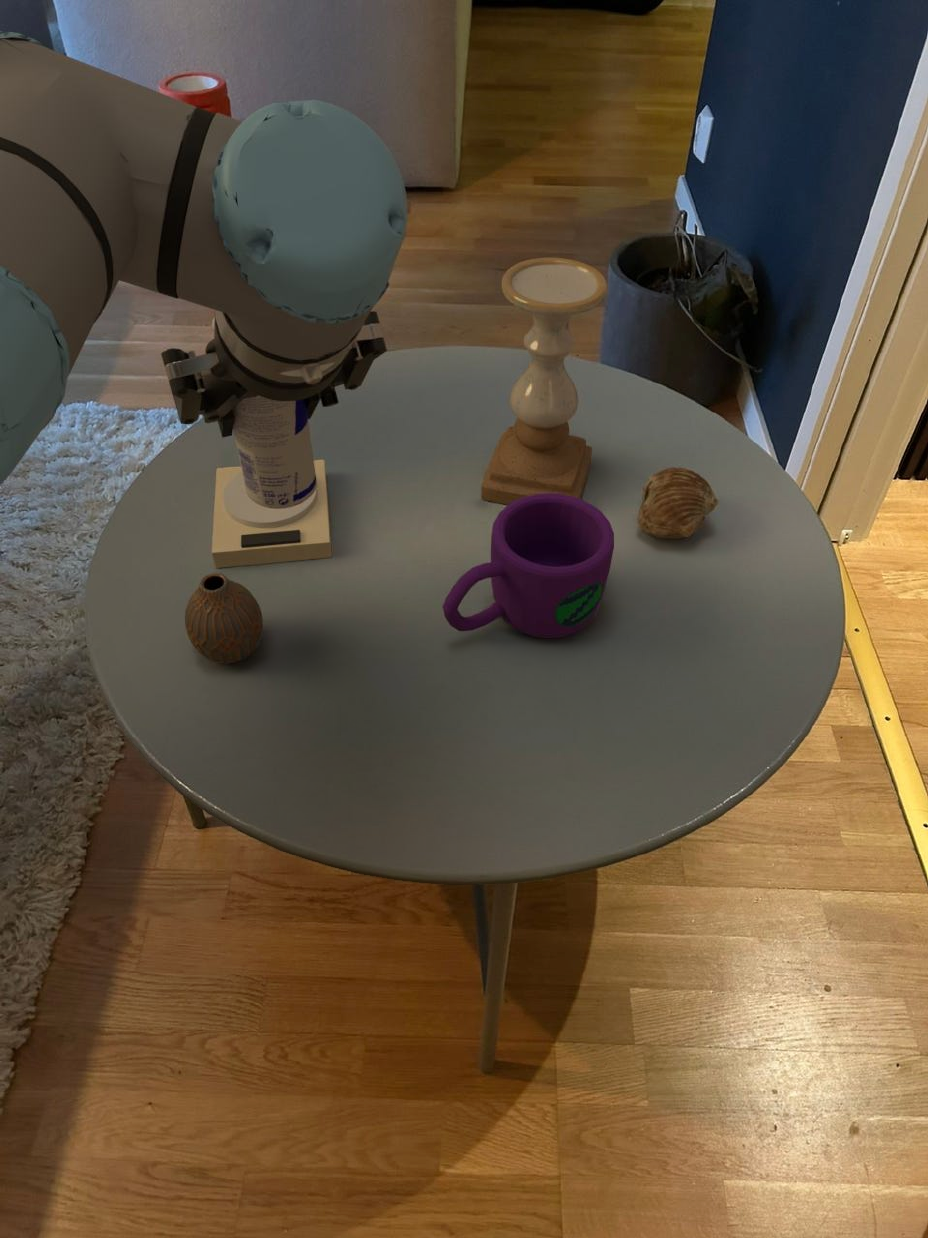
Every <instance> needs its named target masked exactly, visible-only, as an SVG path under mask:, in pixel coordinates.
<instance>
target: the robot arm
mask: <svg viewBox="0 0 928 1238" xmlns="http://www.w3.org/2000/svg"><path fill="white" fill-rule="evenodd" d="M407 222H408V199H407V191H406V187H405V182H404V178H403V175H402V172H401V170H400V168H399V166H398V163H397V161H396V160H395V157H394V156H393V154H392V153H391V151H390V149H389V147H388V146H387V144H386V143H385V142H384V140H382V138H381V137H380V136H379V135H378V134H377V132H376V131H375V130H373V128H372V127H370V126H369V125H368V124H367V123H365V122H364V121H363V120H362V119H360V117H358V116H357V115H355V114H353V113H352V112H350V111H348V110H347V109H344V108H343V107H341V106H338V105H336V104H333V103H330V102H326V101H322V100H317V99H308V100H290V101H284V102H272V103H270V104H267V105H265V106H263V107H261V108H259V109H257V110H255V111H254V112H252V113H251V114H250V115H248V116H247V117H246V118H245V119H244V120H242V121H241V120H239V119H236V118H233V117H231V116H228V115H226V114H223V113H221V112H216V113H214V112H211V111H209V110H206V109H205V108H202V107H199V106H195V105H192V104H190V103H188V102H185V101H183V100H179V99H177V98H174V97H173V96H170V95H167V94H164V93H162V92H160V91H156V90H154V89H151V88H149V87H146V86H144V85H142V84H139V83H136V82H135V81H132V80H129V79H126V78H124V77H121V76H119V75H116V74H114V73H111V72H109V71H106V70H104V69H101V68H99V67H96V66H95V65H94V66H93V65H92V64H89V63H86V62H84V61H80V60H78V59H76V58H73V57H71V56H69V55H66V54H63V53H60V52H58V51H57V50H56V51H55V50H52V49H50V48H48V47H46V46H44V45H43V43H41V41H38V40H36V39H34V38H32V37H28V36H26V35H23V34H22V33H19V32H12V31H1V30H0V486H2V484H4V482H5V481H6V480H7V478H9V476H10V475H11V474H12V473H13V471H14V470H15V468H16V467H17V466H18V464H19V463H20V461H21V460H22V459H23V457H24V456H25V455H26V453H27V452H28V451H29V449H30V448H31V447H32V445H33V444H34V442H35V441H36V439H37V438H38V437H39V435H40V433H41V432H42V431H43V430H44V429H46V428H47V426H48V425H49V424H50V422H51V421H52V420H53V419H54V417H56V413H57V411H58V409H59V408H60V406H61V405H62V403H63V400H64V398H65V394H66V390H67V389H66V387H67V381H68V378H69V376H70V374H71V371H72V369H73V368H74V365H76V361H77V360H78V357H79V355H80V353H81V351H82V349H83V348H84V345H85V343H86V341H87V338H88V337H89V335H90V333H91V331H92V329H93V327H94V325H95V323H96V322H97V321H98V319H99V318H100V316H101V315H102V314H103V311H104V310H105V309H106V306H107V304H108V303H109V301H110V300H111V297H112V295H113V293H114V292H115V290H116V287H117V286H118V283H119V282H123V283H126V284H129V285H132V286H135V287H138V288H142V289H145V290H148V291H152V292H154V293H158V294H161V295H163V296H167V297H171V298H174V299H177V300H178V299H180V300H183V301H186V302H189V303H192V304H195V305H199V306H202V307H205V308H209V309H211V310H214V317H215V323H214V331H213V339H212V340H210V341H209V342H208V343H207V344H206V346H205V351H204V352H205V353H204V354H200V355H196V352H195V351H194V350H188V351H184V350H182V349H180V348H174V347H173V348H172V347H171V348H167V349H166V350H164V351H162V352H161V353H160V355H161V359H162V362H163V366H164V369H165V373H166V377H167V380H168V383H169V387H170V391H171V394H172V398H173V401H174V405H175V409H176V412H177V416H178V419H179V423H180V424H181V425H184V426H185V425H189V426H190V425H192V424H194V423H196V422H198V421H199V419H200V418H199V417H200V416H203V421H204V423H205V424H211V423H212V424H213V423H216V422H217V424H218V427H219V430H220V434H221V438H227V437H231V436H233V433H234V431H233V424H234V415H233V412H232V409H233V408H234V407H235V406H236V405H237V404H238V403H239V402H241V401H242V400H243V399H244V398H251V397H257V396H258V395H259V396H261V397H264V398H267V399H271V400H276V401H296V400H301V399H305V401H306V408H307V415H308V420H310V419H311V418H312V416H313V415H314V413H315V411H316V409H317V407H318V405H319V403H320V402H321V406H322V408H327V407H333V406H335V405H337V404H339V399H338V394H337V391H336V387H339V386H341V385H343V386H344V389H345V390H350V391H353V390H354V391H355V390H356V389H358V388H359V387H361V386H362V384H363V383H364V380H365V379H366V377H367V375H368V372H369V371H370V369H371V366H372V365H373V362H374V361H375V360H376V359H378V358H379V357H381V356H382V355H383V354H385V353H386V352H387V351H388V349H387V346H386V343H385V342H386V341H385V339H384V338H385V337H384V333H383V330H382V326H381V322H380V318H379V316H378V312H377V311H372V310H373V309H374V307H375V306H376V305H377V304H378V303H379V301H380V300H381V298H382V297H383V296H384V295H385V293H386V291H387V290H388V288H389V287H390V283H389V281H390V278H391V276H392V273H393V270H394V266H395V263H396V261H397V259H398V255H399V253H400V250H401V247H402V245H403V243H404V240H405V237H406V234H407Z"/></svg>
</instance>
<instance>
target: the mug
mask: <svg viewBox="0 0 928 1238" xmlns="http://www.w3.org/2000/svg"><path fill="white" fill-rule="evenodd" d="M490 537H491V539H490V561H489V562H484V563H480V564H479V565H476V566H473V567H471V568H470V569H469V570H467V571H466V572H465V573H463V574H462V575H461V576H460V577H459V579H458V580H457V581H456V583H455V584H454V585H453V586H452V587H451V589H450V590H449V592H448V594H447V596H446V597H445V599H444V602H443V604H442V610H443V615H444V618H445V620H446V622H447V623H448V624H449V626H450V627H452V628H453V629H455V630H457V631H459V632H471V631H474V630H478V629H481V628H483V627H485V626H487V625H489V624H491V623H493V622H495V621H497V619H499V618H501V617H502V619H503V620H504V621H505V622H506V623H507V624H508V625H510V626H511V627H512V628H513V629H515V630H517V631H519V632H521V633H523V634H525V635H529V636H532V637H536V638H544V639H554V638H563V637H566V636H568V635H571V634H575V633H576V632H578V631H579V630H582V629H583V628H584V627H585V626H587V625H588V623H589V622H591V620H592V619H593V618H594V617H595V616H596V613H597V611H598V609H599V606H600V604H601V601H602V598H603V596H604V593H605V591H606V587H607V582H608V578H609V575H610V570H611V565H612V560H613V554H614V548H615V532H614V530H613V527H612V525H611V522H610V520H609V519H608V518H607V517H606V515H605V514H604V512H603V511H601V510H600V509H599V508H597V507H596V506H594V505H593V504H592V503H590V502H588V501H585V500H584V499H582V498H581V499H579V498H576V497H572V496H568V495H564V494H555V493H543V494H533V495H530V496H526V497H523V498H520V499H518V500H516V501H514V502H512V503H510V504H509V505H507V504H506V506H505V507H504V508H503V509H502V510H501V511H500V512H499V513H498V514H497V516H496V518H495V520H494V521H493V523H492V528H491V535H490ZM486 579H490V581H491V582H490V583H491V589H492V595H493V599H494V602H493V603H492V604H490V606H489V607H487V608H485V609H483V610H482V611H480V612H478V613H475V614H472V615H469V616H463V615H462V614H461V613H460V611H459V610H458V609H459V606H460V604H461V603H462V601H463V600H464V598H465V596H466V595H467V594H468V593H469V592H470V590H471V589H472V588H473V587H474V586H475V585H476V584H478V583H479V582H480V581H483V580H486Z"/></svg>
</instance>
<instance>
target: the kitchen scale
mask: <svg viewBox="0 0 928 1238" xmlns="http://www.w3.org/2000/svg"><path fill="white" fill-rule="evenodd" d="M314 466H315V473H316V480H317V487H316V490H315V491H314V493H313V494H312V495H311V496H310V497H309V498H308V499H307V500H306V501H304V502H303V503H301V504H299V505H296V506H293V507H289V508H283V509H272V508H267V507H264V506H261V505H258V504H256V503H255V502H253V501H252V500H251V499H250V498H249V497H248V495H247V492H246V487H245V483H244V478H243V473H242V468H241V465H239V466H229V467H217V468H216V470H215V471H216V473H215V474H216V475H215V490H214V505H213V506H214V508H213V523H212V541H211V557H212V560H213V564H214V568H215V569H219V568H220V569H223V568H233V567H241V566H242V567H245V566H254V565H266V564H276V563H277V564H278V563H285V562H287V563H288V562H296V561H297V562H298V561H308V560H318V559H319V560H320V559H329V558H333V552H332V551H333V550H332V537H331V535H332V534H331V523H330V522H331V521H330V510H329V496H328V495H329V493H328V481H327V470H326V462H325V459H314Z"/></svg>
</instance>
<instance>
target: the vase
mask: <svg viewBox="0 0 928 1238" xmlns="http://www.w3.org/2000/svg"><path fill="white" fill-rule="evenodd" d="M184 615H185V616H184V625H185V630H186V633H187V636H188V639H189V641H190V644H192V646H193V648H194V649H195V650H196V651H197V652H198V653H199V655H201V656H202V657H203V658H205V659H207V660H209V661H211V662H213V663H217V664H233V663H237V662H240V661H242V660H244V659H246V658H248V657H249V656H251V655H252V653H254V651H255V650H256V649H257V648H258V646H259V644H260V642H261V640H262V636H263V633H264V617H263V613H262V610H261V607H260V604H259V602H258V601H257V599H256V597H255V595H253V594H252V592H251V591H250V590H249V589H247V588H246V587H245V586H244V585H243V584H241V583H239V582H236V581H233V580H231V579H229V578H228V577H227V576H226V575H224V574H223V573H219V572H218V573H217V572H213V573H210V574H206V575H205V576H203V578H201V580H200V582H199V585H198V587H197V588H196V590H194V592H193V593H192V595H191V596H190V598H189V600H188V601H187V604H186V608H185V613H184Z"/></svg>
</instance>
